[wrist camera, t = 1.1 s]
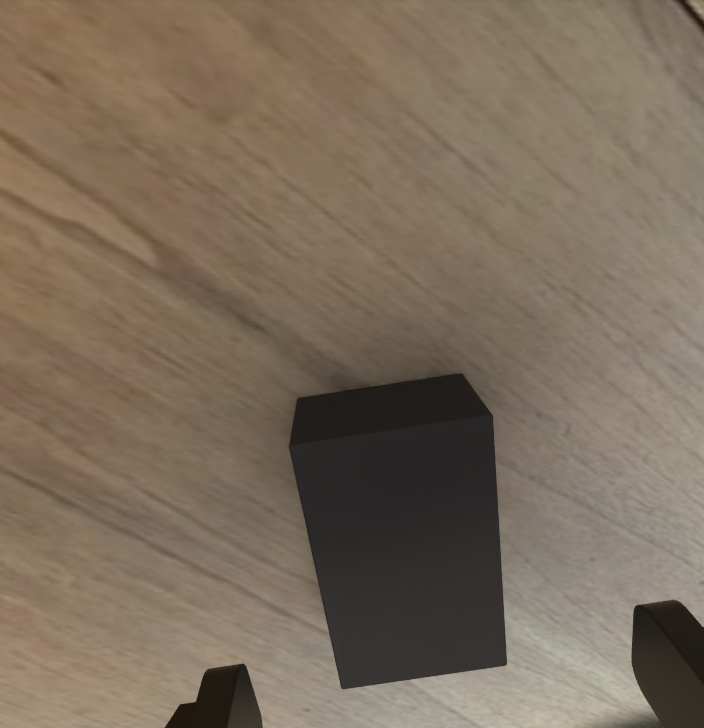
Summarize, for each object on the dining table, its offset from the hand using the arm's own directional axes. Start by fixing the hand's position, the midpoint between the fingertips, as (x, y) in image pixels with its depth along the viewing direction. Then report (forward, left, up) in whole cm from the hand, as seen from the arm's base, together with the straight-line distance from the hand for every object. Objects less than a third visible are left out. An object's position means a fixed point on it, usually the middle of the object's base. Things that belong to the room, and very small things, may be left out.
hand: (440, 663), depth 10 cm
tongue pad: (+2, 0, -9) cm, 9 cm away
